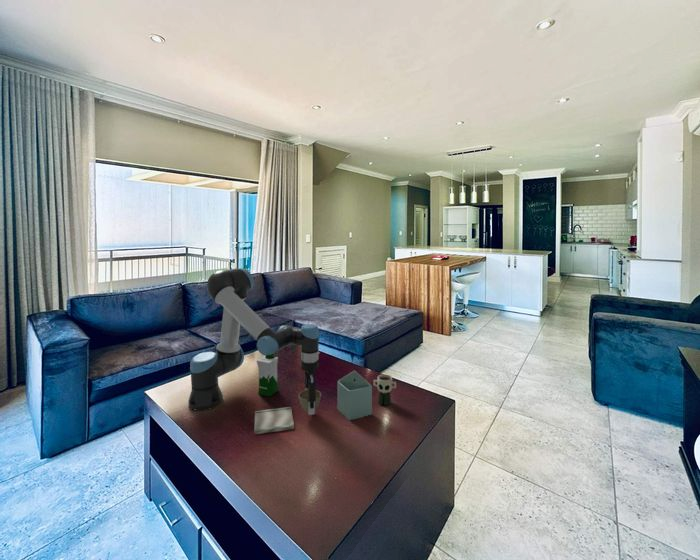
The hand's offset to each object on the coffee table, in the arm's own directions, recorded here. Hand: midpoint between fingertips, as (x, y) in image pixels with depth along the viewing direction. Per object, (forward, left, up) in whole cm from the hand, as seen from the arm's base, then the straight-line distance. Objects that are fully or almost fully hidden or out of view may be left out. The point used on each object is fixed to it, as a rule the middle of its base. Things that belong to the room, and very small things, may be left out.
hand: (309, 407), depth 147 cm
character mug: (+36, +3, -4) cm, 37 cm away
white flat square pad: (-16, 0, -4) cm, 16 cm away
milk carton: (-18, +27, -4) cm, 33 cm away
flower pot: (0, 0, -1) cm, 1 cm away
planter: (+18, -4, -4) cm, 19 cm away
